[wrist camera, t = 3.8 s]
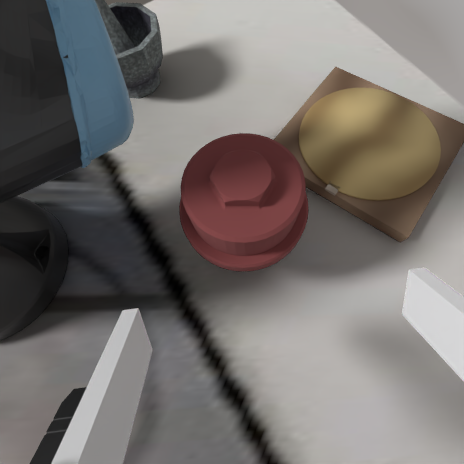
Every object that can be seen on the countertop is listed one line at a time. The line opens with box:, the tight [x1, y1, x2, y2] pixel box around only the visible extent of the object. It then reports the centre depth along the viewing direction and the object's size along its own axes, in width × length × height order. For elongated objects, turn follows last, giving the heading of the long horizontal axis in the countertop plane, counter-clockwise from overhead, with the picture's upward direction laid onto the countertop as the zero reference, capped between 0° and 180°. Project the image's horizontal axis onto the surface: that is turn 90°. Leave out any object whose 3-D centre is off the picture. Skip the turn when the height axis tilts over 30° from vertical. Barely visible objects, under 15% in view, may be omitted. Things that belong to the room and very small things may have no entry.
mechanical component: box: [179, 133, 308, 271], centre depth 23 cm, size 12×10×10 cm
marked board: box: [274, 67, 464, 242], centre depth 31 cm, size 17×16×2 cm
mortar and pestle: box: [95, 0, 163, 98], centre depth 32 cm, size 11×9×12 cm
